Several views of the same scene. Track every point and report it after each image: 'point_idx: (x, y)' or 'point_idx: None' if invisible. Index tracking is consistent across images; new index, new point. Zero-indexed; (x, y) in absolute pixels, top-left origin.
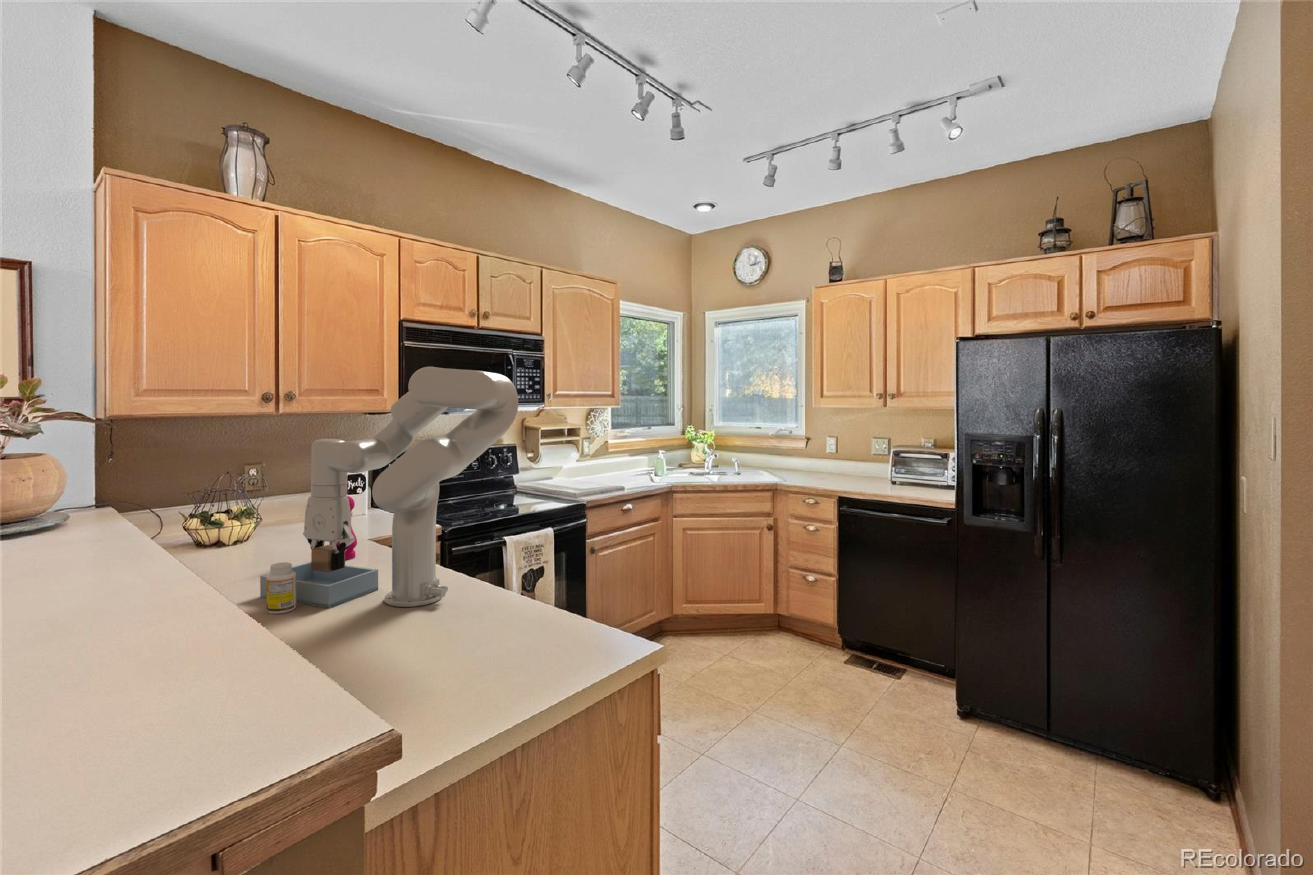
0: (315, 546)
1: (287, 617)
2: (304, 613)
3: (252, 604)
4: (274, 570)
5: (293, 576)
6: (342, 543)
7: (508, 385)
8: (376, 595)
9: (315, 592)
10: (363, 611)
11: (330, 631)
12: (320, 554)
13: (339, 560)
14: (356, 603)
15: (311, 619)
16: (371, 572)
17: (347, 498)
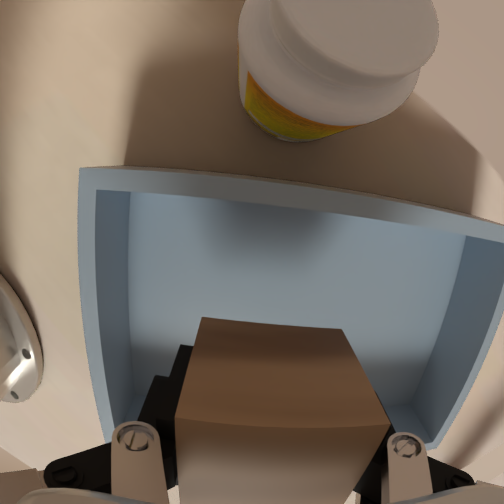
0: (384, 463)
1: (204, 35)
2: (173, 87)
3: (445, 137)
4: None
5: (240, 43)
6: (57, 486)
7: None
8: (84, 343)
9: (183, 171)
10: (7, 187)
11: (5, 25)
12: (274, 398)
13: (147, 401)
14: (75, 250)
15: (103, 52)
16: (100, 418)
17: None
